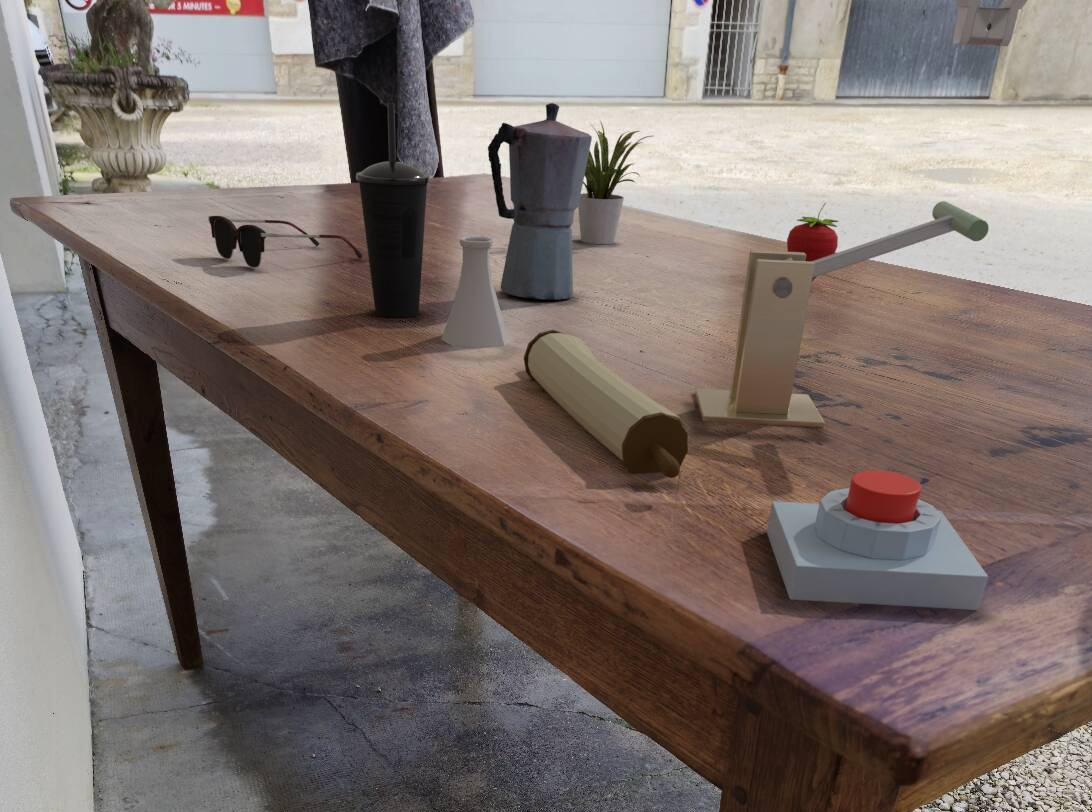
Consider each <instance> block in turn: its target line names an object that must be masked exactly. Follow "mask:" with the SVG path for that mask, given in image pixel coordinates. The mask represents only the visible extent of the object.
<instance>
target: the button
mask: <svg viewBox="0 0 1092 812" xmlns="http://www.w3.org/2000/svg"><path fill="white" fill-rule="evenodd" d="M849 488H850V489H849V493H848V498H847V502H846V507H845V511H847V512H849V513H851V514H853V515H855V516H856V517H858V518H861V519H865V520H869V521H873V522H878V523H896V524H901V523H906V522H911V521H912V520H913V517H914V513H915V510H916V506H917V502H918V499H919V498H920V493H921V491H922V486H921V484H920V483H919V481H917V480H916V479H914V478H912V477H910V476H907V475H906V474H905V475H904V474H901V473H897V472H893V471H888V470H887V471H886V470H863V471H860V472H856V473H855V474H853V476H852V477H851V480H850V484H849Z"/></svg>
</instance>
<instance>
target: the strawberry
mask: <svg viewBox="0 0 1092 812" xmlns="http://www.w3.org/2000/svg"><path fill="white" fill-rule="evenodd" d="M826 204H827V203H826V202H824V204H823V206H822V207H821V208H820V211H819V212H818V215H817V217H816V216H815V217H814V216H813V217H812V216H801V218H798V219H796V221H797V222H803V223H802V224H798V225H795V226H794V227H792V229H790V231H789V233H788V236H787V239H786V246H787V247H786V248H787V252H800V253H805V254H806V260H805V261H806V262H812V261H815V260H818V259H821V258H824V257H827V256H830V255H832V254H835V253H836V251H837V249H838V246H839V245H838V244H839V238H838V234H837V233H836V231H835V229H833V228H837V227H838V226H837V225H836V224H834V223H839V220H836V219H830V218H825V219H820V214H821V212H822V210H823V209H824V207H825V206H826ZM831 227H833V228H831ZM815 279H817V277H814V278H812V282H813V281H814V280H815Z"/></svg>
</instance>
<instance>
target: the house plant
mask: <svg viewBox="0 0 1092 812" xmlns="http://www.w3.org/2000/svg"><path fill="white" fill-rule="evenodd" d="M588 122H589V124H590V125H591V127H592V128H593V129H594V131H595V133H596V135H597V137H598V140H596V141H595V143H594V147H593V154H592V152H591V149H590V150H589V155H588V160H587V165H586V170H585V175H584V178H585V179H586V182H585V181H583V185H584V187H585V190H586V192H585V193H581V195H580V200H579V205H578V207H577V209H578V210H577V211H578V221H579V235H580V241H581V242H582V243H584V244H591V245H611V244H612V245H613V244H615V239H616V236H617V232H618V227H619V221H620V218H621V213H622V209H623V204H624V198H625V197H624V196H622V195H619V194H614V193H613V192H614V190H615V188H616V187H617V185H618V184H620V183H622V182H632V183H635V184H637V182H636V181H635V180H634V179H632V178H631V179H630V178H626V179H623V178H624V177H625V176H627V175H630V174H636V175H638V176H639V178H640V179H642V178H641V176H640V174H639V173H638V172H635V171H633V172H628V173H625V172H626V171H627V170H628V169H629V168H630V166H633V165H636V164H637V163H628V164H626V165H624V163H625V162H626V160H627V158H628V157H629V155H630V153H632V151H633V150H634V149H635V148H636V147H637V146H638V145H639V144H644V141H643V142H642V140H644V139H647V138H651V137H652V138H653V135H647V136H644V137H642V138H640V139H638V140H637V141H636V142H635V143H633V144H632V141H630V142H628V141H629V140H630V139H632V137H633V136H634V134H636V133H640V130H634V131H631V130H628V131H625V132H623V133H622V134H621V135H620V136H619V137H618V139H617V141H616V143H615V146H614V149H613V153H612V155H611V158H610V160H609V151H610V150H609V141H608V138H607V136H606V135H605V128H604V125H603V123H602V121H601V120H599V122H600V125H601V128H602V131H600V130H597V129H596V128H595V127H594V125H592V123H591V122H590V121H588ZM626 133H627V134H626ZM623 135H625V136H623ZM640 141H641V142H640ZM627 142H628V143H627ZM630 145H631V146H630ZM599 146H600V148H599ZM629 146H630V147H629ZM628 147H629V148H628ZM627 148H628V149H627ZM593 156H594V157H593ZM622 156H623V157H622ZM600 157H601V158H600ZM621 157H622V159H621ZM620 159H621V160H620ZM619 160H620V162H619ZM618 162H619V164H618ZM617 164H618V166H617ZM623 165H624V166H623Z"/></svg>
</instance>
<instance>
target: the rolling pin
mask: <svg viewBox="0 0 1092 812" xmlns="http://www.w3.org/2000/svg"><path fill="white" fill-rule="evenodd" d="M523 363H524V369H525V373H526V375H527V376H528V377H529V378H530V380H532V381H536V382H537V383H538V384H539V385H540V386H541V388H543V389H544V391H546V393H547V394H548V395H549V396H550V397H551V398H552V399H553V400H554V401H555V402H556V403H557V404H558V405H559V406H560V407H562V409H564V411H565V412H567V413H568V414H569V415H570V416H571V417H572V418H573V420H574V421H576V422H577V423H578V424H579V425H580V426H581V427H582V428H583V429H584V430H585V431H587V432H588V433H589V434H590V435H591V436H593V438H594V439H596V440H597V441H598V442H599V443H601V445H602V446H604V447H605V448H606V449H607V450H609V452H611V453H612V454H613V455H614V456H616V457H617V458H618V459H619V460H621V461H622V464H623V465H624V466H625V468H626V469H627V470H628V472H629V473H630V474H631V475H639V474H656V473H662V474H663V475H664V476H665V477H666V478H669V479H673V478H676V477H677V476H678V475H679V474H680V471H681V467H682V464H683V462H684V460H685V458H686V457H687V454H688V452H689V442H688V441H689V439H688V433H687V431H686V429H687V430H690V428H691V427H690V426H689V424H688V423H687V422H686V421H685V420H684V419H683V418H682V417H680V416H679V415H677V414H676V413H674V412H673V411H671V410H669V409H668V408H667V407H665V406H663V405H662V404H660V403H659V402H657V401H656V400H654V399H652V398H651V397H649V396H648V395H646V394H644V393H643V392H642V391H641V390H639V389H637V388H636V387H635V386H633V385H632V384H630V383H629V382H627V381H626V380H624V379H623V378H622V377H621V376H620V375H619V376H618V374H616V373H614V372H613V371H612V370H610V369H609V368H608V367H607V366H605V365H604V364H603V363H602V362H600V361H598V359H596V357H595V355H594V354H593V352H592V351H591V350H590V348H589V346H588V345H587V344H586V343H585V341H584V339H582V338H579V337H577V336H574V335H570V334H567V333H564V332H561V331H558V330H555V329H550V330H546V331H542V332H539V333H538V334H537V335H535V336H534V337H533V338H532V340H530V341H529V342H528V344H527V347H526V349H525V352H524V355H523ZM685 428H686V429H685Z"/></svg>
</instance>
